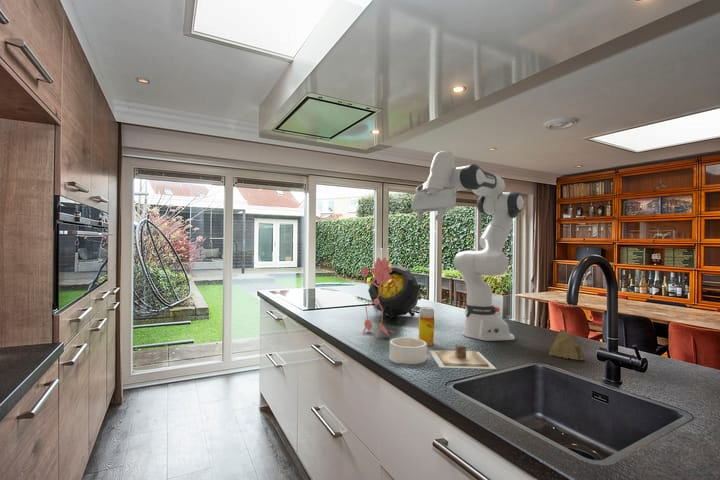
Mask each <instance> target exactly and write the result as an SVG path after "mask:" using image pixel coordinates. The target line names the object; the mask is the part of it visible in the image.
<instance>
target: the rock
mask: <svg viewBox="0 0 720 480" xmlns="http://www.w3.org/2000/svg"><path fill="white" fill-rule="evenodd" d="M548 355H549V356H553V357H556V356H557V357H556V358H561V357H563V358H562V359H568V358H570V360H577V361H584V360H585V357H584V353H583V351H582V349H581V347H580V345H579V344H578V343H577V342H576V340H575V339H574V338H573V337H572V335H570V333H568V331H567V330H565V329H562V328H561V329H560V331H559V332H558V333H557V334H556V336H555V338H554V341H553V343H552V344H551V347H550V350H549V353H548Z"/></svg>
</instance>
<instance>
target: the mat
mask: <svg viewBox="0 0 720 480" xmlns="http://www.w3.org/2000/svg"><path fill="white" fill-rule="evenodd" d="M476 352H477V353H478V354H479V355H480V356H481V357H482V358H483V359H484V360H485V361H486V362H487V363H488V364H489V367H484V366H447V365H444V364H443V363H442V361H441V360H440V358H439V357H438V355H437V354H436V350H429V353H430V354H431V356H432V358H433V359H434V360H435V362H436V364H437V366H438V368H443V369H446V368H448V369H450V368H451V369H452V368H453V369H482V370H484V369H486V370H489V369H491V370H497V367H495V366H494V365H493V364H492V363H491V362H490V361H489V360H488V359H487V358H486V357H485V356H484V355H483V354H481V353H480V352H479V351H476Z"/></svg>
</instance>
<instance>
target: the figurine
mask: <svg viewBox="0 0 720 480" xmlns="http://www.w3.org/2000/svg"><path fill="white" fill-rule="evenodd" d="M391 267H392V266H390V261H389V260H387V258H386V257H384V258H382V259H381V258H380V257H379V256H378V257H377V258H376V262H374V267H373V268H371V273H372V274H373V277H374V280H373V281H372V280H371V281H366V277H367V276H368V275H369V269H368V268H367V266H363V267H362V268H361V269H360V273H361V276H362V277H363V283H364V284H371V283H372V284H374V285H376V284H375V283H374V281H375V280H377V284H380V283H381V282H382V283H384V284H386V283H387V279H390V278H391V280H392V281H393V282H394V283H395V284H396V285H397V286H398V287H399V285H398V284H397V283H396V282H395V281H394V280H393V279H392V277H391V276H390V274H389V273H391V272H392V269H391ZM382 283H381V284H380V286H381V285H382ZM376 286H377V287H378V288H380V286H378V285H376ZM380 290H381V289H379V293H380ZM379 293H378V297H379ZM378 297H377V299H375V300H374V303H373V302H372V303H370V304H368V305H365V312H366V320H365V321H364V329H363V331H362V334H365V331H366V330H367V331H371V330H373V329H374V330H375V329H376V328H375V327H373V323H372V322H371V321H370V320H369V317H368V310H367V309H368V308H367V307H369V306H371V305H373V304H374V305H375V306H376V305H378V304H379V305H380V301H379V300H378ZM380 307H381V305H380ZM381 309H382V307H381ZM381 318H384V317H383V309H382V311H381ZM378 326H379V328H378V329H377V330H378V331H377V334H376V336H375V338H376V339H377V338H378V335H379V334H380V331H382V332H383V333H384V334H385V335H386V336H387V337H389V336H390V334H389V332H391V333H394V331H393V330H390V329H389V330H388V329H387V328H386V327H385V326H384V324H383V319H381V322H379V324H378ZM388 331H389V332H388Z"/></svg>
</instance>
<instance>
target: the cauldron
mask: <svg viewBox="0 0 720 480" xmlns="http://www.w3.org/2000/svg"><path fill="white" fill-rule="evenodd" d="M390 267H391V269H392V272H391V273H389V274H390V276H391V277H392V279H393V280H394V281H395V282H396V283H397V284H398V285H399V287H398V286H397V285H396V284H395V283H394V282H393V281H392V280H391V278H390V279H387V283H386V284H384V283H382V282H381V283H382V285H381V286H380V284H381V283H380V284H377V280H375V281H374V283H375V284H376V285H378V286H380V288H378V287H377V286H376V285H374V284H372V283H369V284H370V285H369V288H368V294H369V296H370V300H371V302H372V303H374V300H375V299H377V297H378V293H379V289H381V290H380V293H379V297H378V300H379V301H380V305H381V307H382V309H383V317H382V318H383V319H386V320H388V321H389V320H391V319H393V318H395V317H401V316H404V315H407V314H409V316H410V317H415V315H416V314H415V311H413V310H412V309H414V308H415V307H416V306H417V305H418V302H419V300H422V295H420V294H421V290H420V289H421V287H420V286H419V283H418V282H417V279H416V278H415V275H413V274H412V270H411V268H409V267H403V266H401V265H397V264H396V265H392V266H390ZM373 280H374V276H373V277H372V279H371V282H372V281H373ZM380 305H379V304H378V305H375V307H376V309H377V310H378V311H380V312H382V309H381V307H380Z"/></svg>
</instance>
